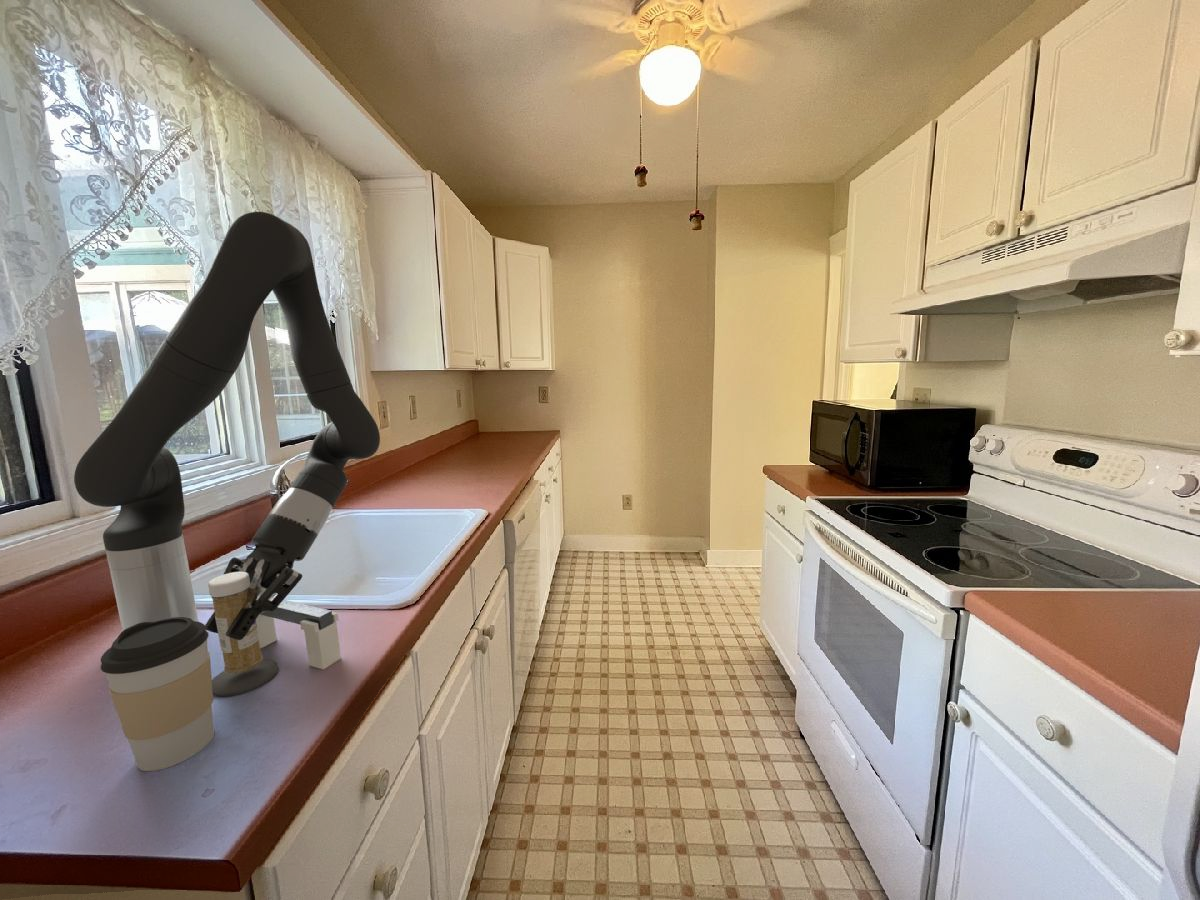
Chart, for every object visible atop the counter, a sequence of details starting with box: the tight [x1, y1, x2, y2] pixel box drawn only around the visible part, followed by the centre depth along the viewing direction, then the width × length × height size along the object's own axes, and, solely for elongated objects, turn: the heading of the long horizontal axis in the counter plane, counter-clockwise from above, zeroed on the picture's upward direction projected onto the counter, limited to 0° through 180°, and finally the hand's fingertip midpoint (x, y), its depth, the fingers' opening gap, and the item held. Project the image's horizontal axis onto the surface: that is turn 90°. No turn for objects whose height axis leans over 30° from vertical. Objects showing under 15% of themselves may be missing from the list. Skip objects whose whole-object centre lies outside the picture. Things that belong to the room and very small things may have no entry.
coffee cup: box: [100, 617, 215, 772], centre depth 55 cm, size 9×9×15 cm
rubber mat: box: [212, 657, 279, 698], centre depth 69 cm, size 8×8×1 cm
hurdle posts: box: [256, 611, 342, 670], centre depth 75 cm, size 18×4×7 cm, turn 67°
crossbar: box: [257, 595, 333, 630], centre depth 75 cm, size 18×2×2 cm, turn 67°
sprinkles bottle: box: [207, 572, 263, 674], centre depth 68 cm, size 5×5×14 cm
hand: (222, 634), depth 66 cm, fingers closed on sprinkles bottle, 4 cm apart
